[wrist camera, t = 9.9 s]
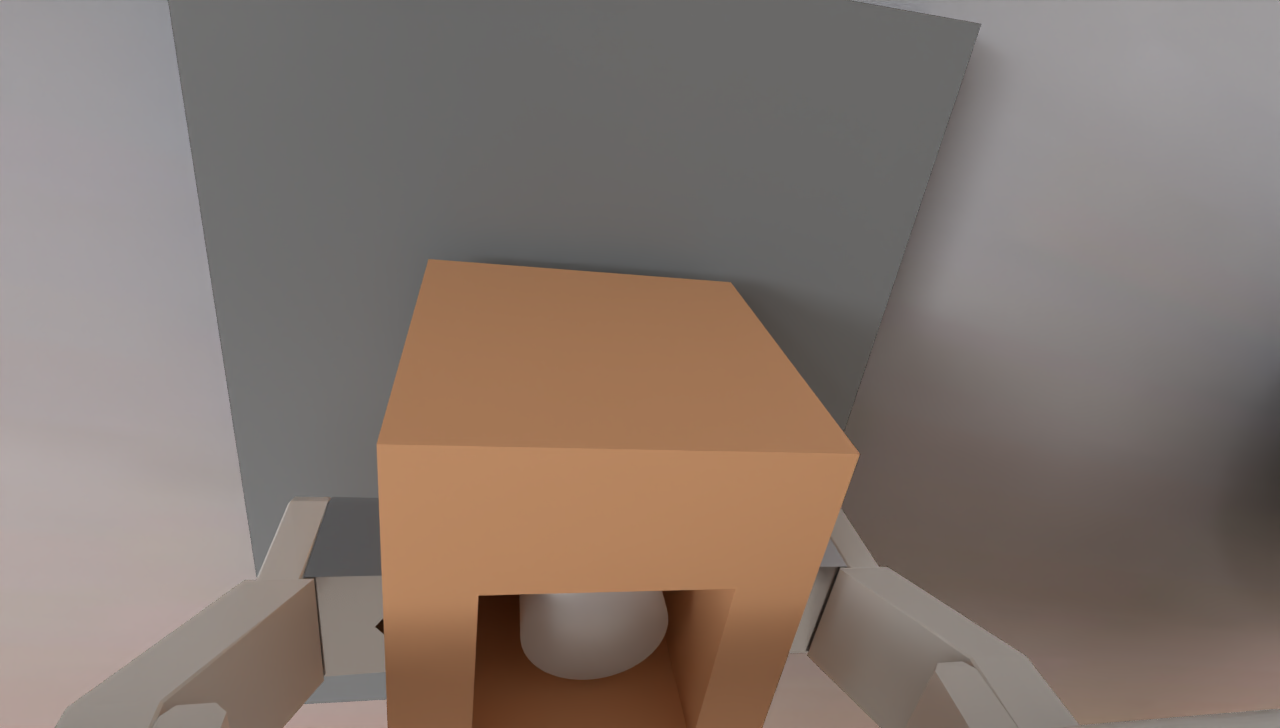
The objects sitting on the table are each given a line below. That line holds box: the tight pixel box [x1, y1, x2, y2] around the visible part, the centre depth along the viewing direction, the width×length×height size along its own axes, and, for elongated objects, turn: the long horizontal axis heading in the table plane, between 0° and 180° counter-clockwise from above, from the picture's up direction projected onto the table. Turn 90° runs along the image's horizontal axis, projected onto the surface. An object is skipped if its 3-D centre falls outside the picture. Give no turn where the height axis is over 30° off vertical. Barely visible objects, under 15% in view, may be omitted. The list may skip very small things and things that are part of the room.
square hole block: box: [377, 259, 860, 728], centre depth 11 cm, size 7×5×5 cm
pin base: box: [168, 0, 981, 704], centre depth 12 cm, size 16×12×6 cm
